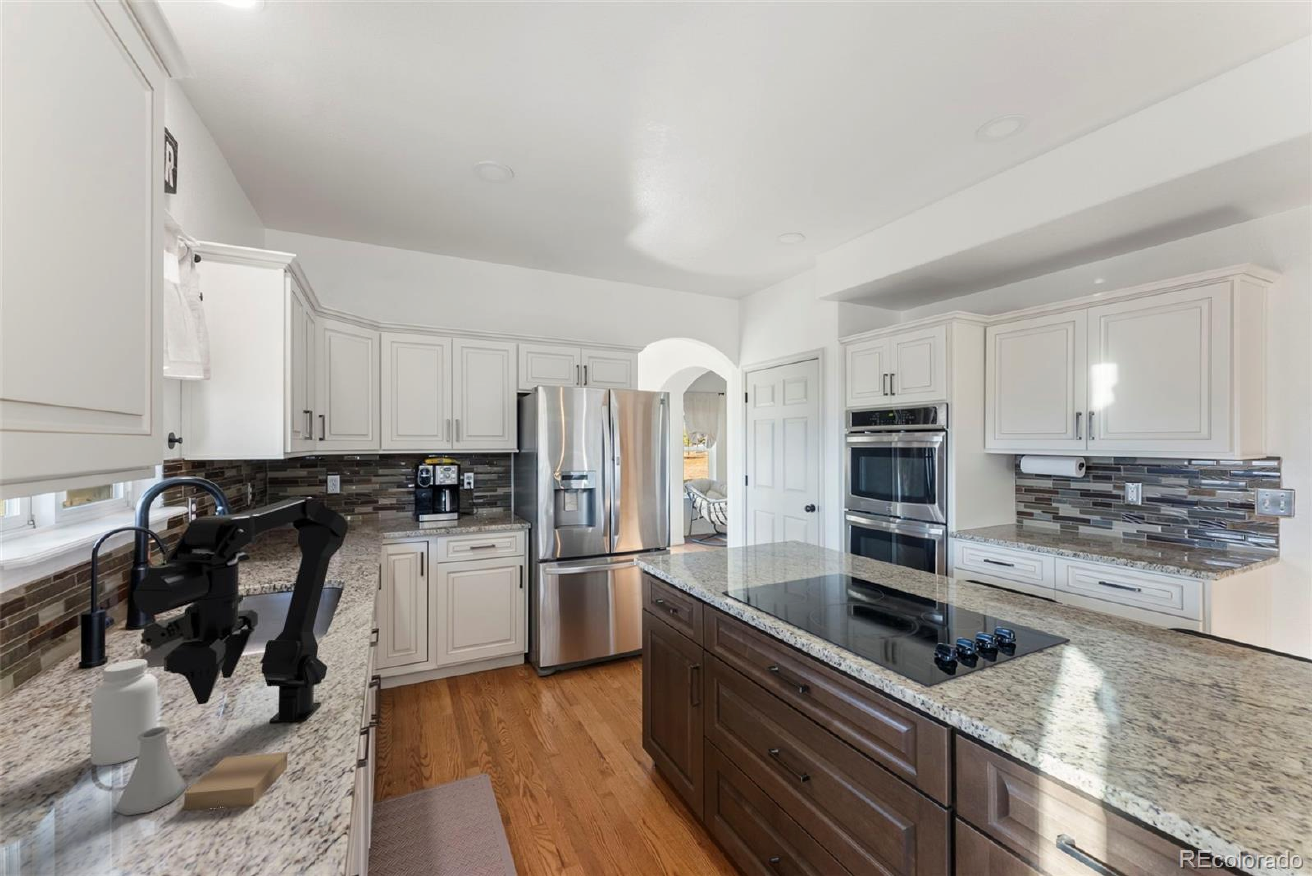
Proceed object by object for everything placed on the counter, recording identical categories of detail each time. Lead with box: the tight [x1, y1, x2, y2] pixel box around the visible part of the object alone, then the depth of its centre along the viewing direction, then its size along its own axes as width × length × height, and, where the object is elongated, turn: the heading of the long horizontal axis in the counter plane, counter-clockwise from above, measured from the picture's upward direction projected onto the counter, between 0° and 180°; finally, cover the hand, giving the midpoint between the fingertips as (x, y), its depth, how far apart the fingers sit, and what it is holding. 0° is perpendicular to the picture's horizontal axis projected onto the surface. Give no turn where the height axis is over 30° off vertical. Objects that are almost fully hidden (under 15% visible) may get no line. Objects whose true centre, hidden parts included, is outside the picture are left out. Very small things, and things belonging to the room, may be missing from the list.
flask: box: [114, 726, 188, 816], centre depth 77 cm, size 7×7×10 cm
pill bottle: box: [89, 658, 158, 767], centre depth 89 cm, size 8×8×15 cm
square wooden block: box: [183, 752, 288, 812], centre depth 80 cm, size 9×9×3 cm
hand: (215, 689), depth 85 cm, fingers open, 9 cm apart
